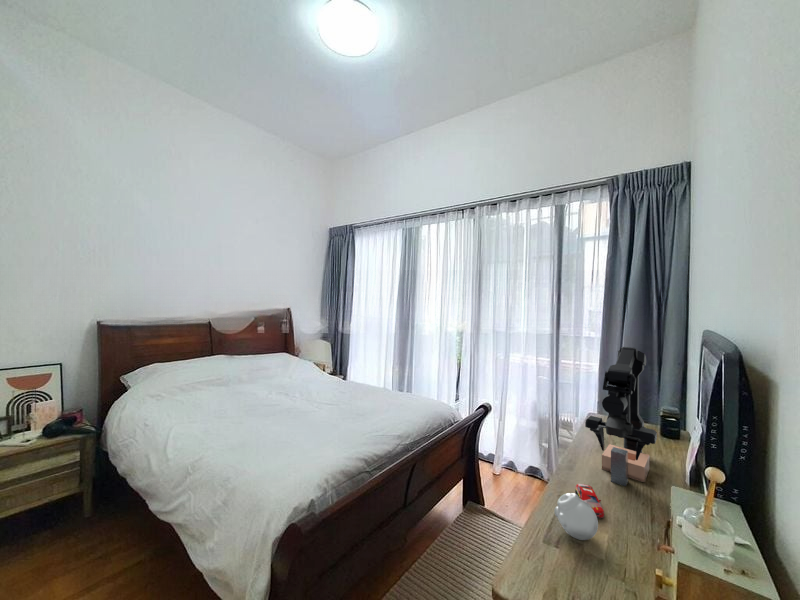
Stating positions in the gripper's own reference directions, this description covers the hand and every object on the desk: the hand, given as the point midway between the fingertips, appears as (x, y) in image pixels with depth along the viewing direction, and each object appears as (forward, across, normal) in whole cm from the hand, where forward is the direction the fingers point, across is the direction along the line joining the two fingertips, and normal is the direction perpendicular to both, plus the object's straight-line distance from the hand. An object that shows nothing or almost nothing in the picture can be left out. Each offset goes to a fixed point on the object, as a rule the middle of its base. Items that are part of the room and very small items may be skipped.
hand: (619, 454), depth 103 cm
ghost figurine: (+9, -3, -37) cm, 38 cm away
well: (+9, 0, +11) cm, 14 cm away
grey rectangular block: (+9, 0, 0) cm, 9 cm away
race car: (+9, -4, -21) cm, 23 cm away
